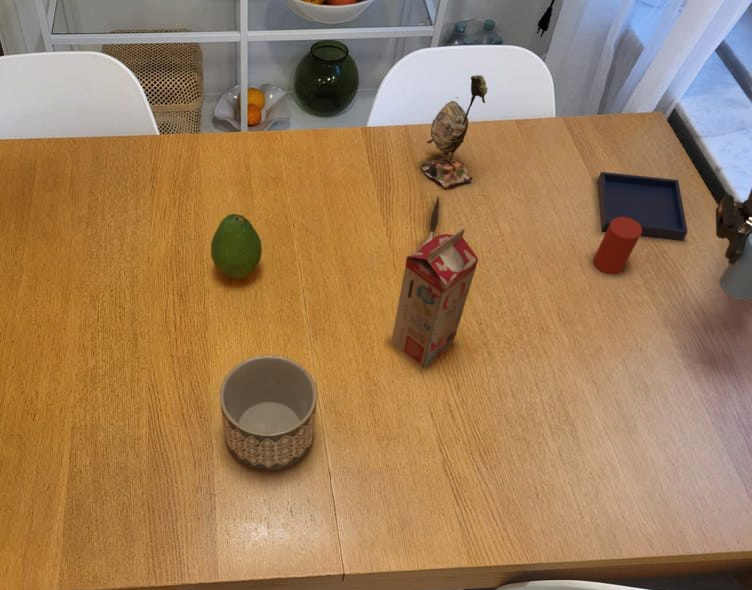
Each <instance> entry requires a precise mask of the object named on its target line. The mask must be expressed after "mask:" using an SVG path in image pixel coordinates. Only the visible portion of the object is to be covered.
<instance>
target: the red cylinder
mask: <svg viewBox="0 0 752 590" xmlns="http://www.w3.org/2000/svg"><path fill="white" fill-rule="evenodd" d="M641 233H642V228H641V226H640V224H639V223H638V222H636V221H635V220H633V219H631V218H627V217H618V218H615V219H613V220H612V221H611V223H610V225H609V227H608V229H607V231H606V232H605V233H604V236H603V238H602V240H601V241H600V244H599V246H598V248H597V250H596V253H595V254H594V257H593V260H592V262H593V265H594V267H595V268H596V269H597V270H598V271H600V272H602V273H604V274H607V275H615V274H619V273H621V271H622V270H623V269H624V267H625V265H626V263H627V262H628V260H629V258H630V256H631V254H632V253H633V250H634V248H635V246H636V245H637V243H638V241H639V239H640V237H641V236H640V235H641Z"/></svg>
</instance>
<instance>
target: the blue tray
mask: <svg viewBox="0 0 752 590" xmlns="http://www.w3.org/2000/svg"><path fill="white" fill-rule="evenodd" d="M596 181H597V193H598V204H599V215H600V226H601V232H603V233H606V231H607V229H608V227H609V225H610V223H611V221H612V220H613V219H615V218H618V217H627V218H631V219H633V220H635V221H636V222H638V223H639V224H640V226H641V228H642V233H641V235H640V237H648V238H657V239H662V240H663V239H665V240H673V241H683V240H684V239H685V237H686V235H687V234H688V227H687V222H686V221H687V219H686V216H685V210H684V203H683V199H682V193H681V188H680V182H679V179H674V178H673V179H671V178H663V177H654V176H645V175H635V174H625V173H617V172H615V173H614V172H606V171H605V172H604V171H600V173H599V176H598V177H597V179H596Z"/></svg>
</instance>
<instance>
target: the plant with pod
mask: <svg viewBox="0 0 752 590" xmlns="http://www.w3.org/2000/svg"><path fill="white" fill-rule="evenodd" d="M470 80H471V82H470V94H471V97H470V103H469V106H468V107H467V110H466V112H465V110H464V108H463V107H462V106H460V105H459V103H458V102H457V101H455V100H451V101H449V102H447V103H446V104H444V106H443V107H441V109H440V110H439V111H438V113H437V114H436V115H435V117H434V119H432V121H431V122H432V123H431V129H430V137H431V138H430V139H428V140H426V144H431V143H433V142H434V144H435V146H436V149H438V150H440V151H441V153H443V154H440V156H439V157H438V158H435V159H433V160H428V161H427V162H423V163H422V164H420V168H421V170H422V171H424V174H426V176H427V177H429V178H432V179H434V180H435V181H436V182H439V183H440V184H441V186H442V187H443V188H450V187H453V185H457V184H460V183H462V184H463V183H465V182H467V183H468V182H472V180H473V177H472V176H471V174H469V171H468V169H467V165H465V163H464V162H462V160H459V159H456V158H454V154H455V153H456V152H457V150H458V149H459V148H460V147H461V146H462V144H463V143H464V140H465V136H466V135H467V131H468V128H469V118H468V115H469V113H470V111H471V107H472V106H473V104H474V101H475V99H476V97H479V98H481V102H482V103H483V104H486V99H485V96H486V95H487V93H488V90H489V89H488V86H487V82H486V80H485V77H484V75H480V74H479V75H478V74H475V75H472V76H470ZM455 98H456V99H459V97H458V96H457V97H456V96H455Z"/></svg>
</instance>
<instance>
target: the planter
mask: <svg viewBox="0 0 752 590" xmlns="http://www.w3.org/2000/svg"><path fill="white" fill-rule="evenodd" d="M317 399H318V391H317V385H316V382H315V380H314V379H313V376H312V375H311V373H310V372H309V371H308V370H307V369H306V368H305V367H304V366H303V365H301V364H300V363H298V362H296V360H293V359H290V358H288V357H285V356H280V355H274V354H264V355H257V356H253V357H249V358H247V359H244V360H242V361H241V362H238V364H236V365H235V366H233V367H232V368H231V369H230V370H229V371H228V373H227V374H226V375H225V377H224V379H223V381H222V383H221V385H220V388H219V403H220V411H221V412H220V413H221V419H222V427H223V436H224V440H225V443H226V445H227V448H228V449H229V451H230V453H231V454H232V456H234V457H235V458H236V459H237V460H238V461H239V462H240V463H242V464H244V465H245V466H247V467H250V468H253V469H255V470H261V471H277V470H282V469H285V468H289V467H291V466H292V465H294V464H296V463H298V462H299V461H300V460H301V459H303V458H304V457H305V456H306V455H307V453H308V452H309V450H310V449H311V447H312V445H313V443H314V440H315V432H316V418H317V417H316V416H317Z"/></svg>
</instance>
